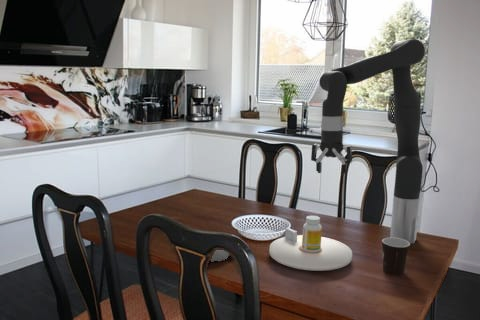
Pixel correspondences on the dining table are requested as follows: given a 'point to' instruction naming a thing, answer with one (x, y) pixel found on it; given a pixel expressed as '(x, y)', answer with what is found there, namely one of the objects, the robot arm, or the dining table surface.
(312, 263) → the disc
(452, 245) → the dining table surface
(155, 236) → the dining table surface
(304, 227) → the supplement bottle
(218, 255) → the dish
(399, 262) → the coffee mug
